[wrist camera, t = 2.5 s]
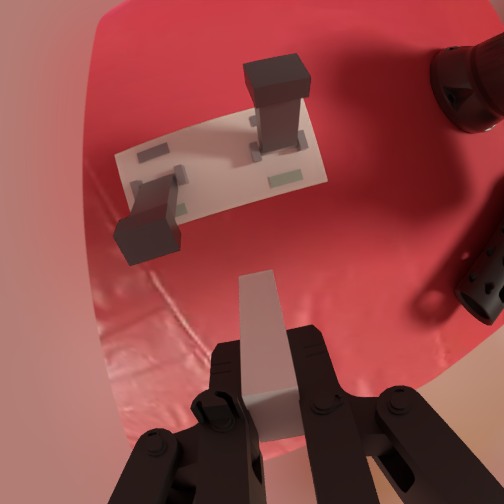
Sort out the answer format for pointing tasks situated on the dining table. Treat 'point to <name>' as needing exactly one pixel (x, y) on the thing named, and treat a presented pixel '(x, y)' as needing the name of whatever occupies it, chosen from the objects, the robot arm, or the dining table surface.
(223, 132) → the switch panel
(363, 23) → the dining table surface
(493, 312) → the muzzle brake
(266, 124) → the inner lever
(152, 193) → the outer lever
